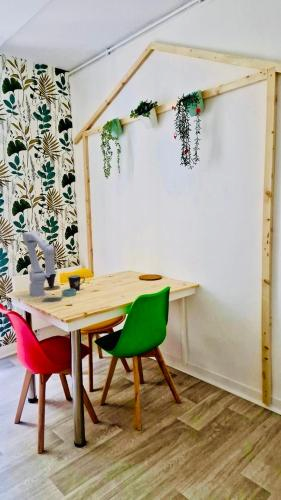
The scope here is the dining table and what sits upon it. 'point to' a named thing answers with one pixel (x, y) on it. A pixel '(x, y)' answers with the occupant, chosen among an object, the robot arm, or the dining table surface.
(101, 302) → the dining table surface
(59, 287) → the lid
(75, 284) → the coffee mug
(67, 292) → the bowl
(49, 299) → the mat
